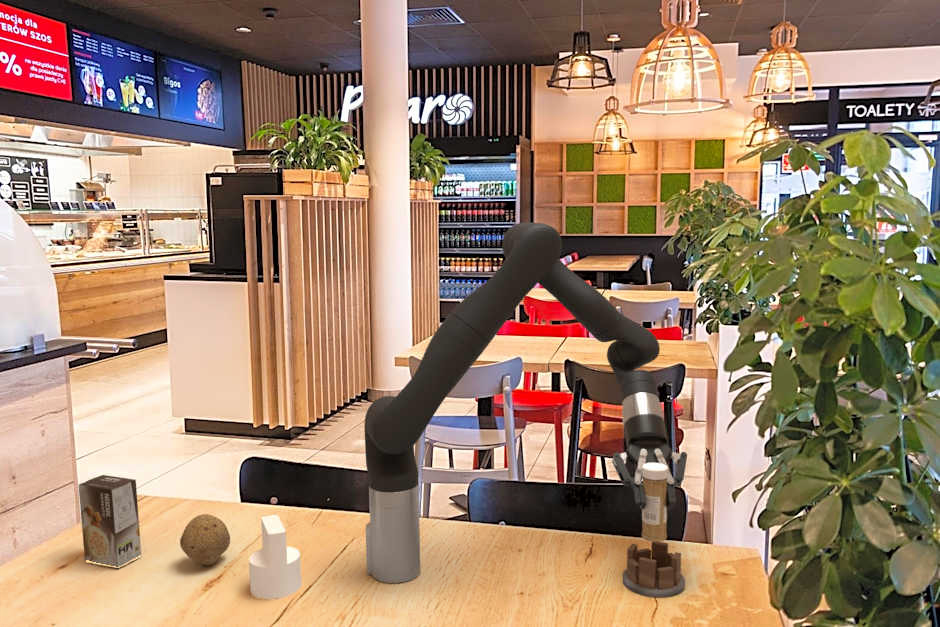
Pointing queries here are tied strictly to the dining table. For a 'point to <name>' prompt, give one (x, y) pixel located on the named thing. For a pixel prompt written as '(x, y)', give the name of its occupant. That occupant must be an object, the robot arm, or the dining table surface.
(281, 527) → the base with upright slab
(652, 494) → the sprinkles bottle
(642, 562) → the castellated collar
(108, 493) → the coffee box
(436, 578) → the dining table surface
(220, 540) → the brown potato
